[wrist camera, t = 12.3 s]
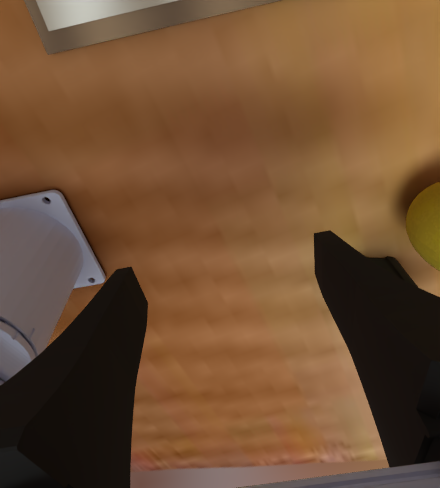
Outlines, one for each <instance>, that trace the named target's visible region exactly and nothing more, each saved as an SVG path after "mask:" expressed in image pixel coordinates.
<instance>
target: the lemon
mask: <svg viewBox="0 0 440 488" xmlns="http://www.w3.org/2000/svg"><path fill="white" fill-rule="evenodd" d="M406 231H407V234H408V236H409V239H410V242H411V244H412V246H413V247H414V248H415V250H416V251H417V252H418V253H419V254H420V256H421V257H422V258H423V259H424V260H425V261H426V262H428V263H429V264H430V265H431V266H433V267H434V268H436V269H437V270H439V271H440V182H437V183H434V184H432V185H431V186H429V187H427V188H426V189H424V190H423V191H422V192H421V193H419V194H418V195H417V197H416V198H415V199H414V200H413V202H412V203H411V205H410V207H409V209H408V213H407V216H406Z"/></svg>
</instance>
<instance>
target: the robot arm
mask: <svg viewBox="0 0 440 488" xmlns="http://www.w3.org/2000/svg"><path fill="white" fill-rule="evenodd" d="M45 197H47V198H49V199H50V201H47V200H46V199H45ZM314 258H315V275H316V278H317V281H318V284H319V287H320V290H321V293H322V296H323V298H324V300H325V302H326V304H327V306H328V308H329V310H330V312H331V314H332V316H333V318H334V320H335V322H336V324H337V326H338V328H339V330H340V332H341V335H342V337H343V339H344V341H345V343H346V345H347V347H348V349H349V351H350V354H351V356H352V359H353V361H354V364H355V367H356V369H357V372H358V375H359V378H360V380H361V383H362V386H363V389H364V392H365V394H366V397H367V400H368V403H369V406H370V409H371V412H372V415H373V417H374V420H375V423H376V426H377V429H378V432H379V435H380V438H381V442H382V445H383V448H384V451H385V454H386V457H387V461H388V463H389V467H390V468H383V469H375V470H368V471H360V472H352V473H345V474H337V475H329V476H322V477H315V478H307V479H299V480H291V481H284V482H276V483H269V484H261V485H254V486H246V487H238V488H440V297H438V296H435V295H433V294H431V293H428V292H426V291H424V290H422V289H420V288H418V287H416V286H414V285H412V284H410V283H408V282H406V281H404V280H402V279H400V278H399V277H397V276H395V275H393V274H392V273H390V272H388V271H387V270H385V269H383V268H382V267H380V266H378V265H377V264H375V263H374V262H372V261H371V260H369V259H368V258H367V257H365V256H364V255H362V254H361V253H359V252H358V251H357V250H355V249H354V248H353V247H351V246H350V245H349V244H347V243H346V242H345V241H343V240H342V239H341V238H339V237H338V236H337V235H336V234H334V233H333V232H331V231H324V232H319V233H314ZM91 278H93V279H95V280H93V279H91ZM105 278H106V276H105V274H104V272H103V270H102V268H101V266H100V264H99V262H98V261H97V259H96V257H95V255H94V253H93V251H92V249H91V247H90V245H89V244H88V242H87V240H86V238H85V236H84V234H83V232H82V230H81V228H80V226H79V225H78V223H77V221H76V219H75V217H74V215H73V213H72V211H71V209H70V208H69V206H68V204H67V202H66V200H65V198H64V196H63V195H62V193H61V192H59V191H57V190H49V191H44V192H39V193H34V194H29V195H24V196H19V197H14V198H10V199H5V200H0V488H130V463H131V437H132V421H133V407H134V396H135V386H136V379H137V374H138V369H139V364H140V358H141V353H142V348H143V343H144V338H145V332H146V326H147V310H148V302H147V300H146V298H145V296H144V293H143V291H142V289H141V287H140V285H139V282H138V280H137V278H136V276H135V274H134V271H133V269H132V267H127V268H122V269H117V270H116V271H115V272H114V273H113V274H112V275H111V277H110V278H109V279H108V280H107V282H106V283H105V284H104V285H103V287H102V288H101V289H100V290H99V292H98V293H97V294H96V295H95V296H94V298H93V299H92V300H91V301H90V302H89V304H88V305H87V306H86V307H85V308H84V310H83V311H82V312H81V313H80V314H79V315H78V316H77V317H76V318H75V320H74V321H73V322H72V323H71V324H70V325H69V326H68V327H67V328H66V329H65V331H64V332H63V333H62V334H61V335H60V336H59V337H58V338H57V339H55V340H54V341H53V342H52V343H51V344H50V345H49V346H48V347H47V344H48V342H49V340H50V338H51V336H52V333H53V331H54V329H55V327H56V325H57V323H58V320H59V318H60V316H61V314H62V312H63V309H64V307H65V305H66V303H67V301H68V299H69V296H70V294H71V292H72V290H73V289H74V288H79V287H85V286H90V285H96V284H101V283H103V282H104V281H105ZM46 347H47V348H46Z"/></svg>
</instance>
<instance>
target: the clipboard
mask: <svg viewBox="0 0 440 488" xmlns="http://www.w3.org/2000/svg"><path fill="white" fill-rule="evenodd" d="M24 1H25V4H26V6H27V8H28V11H29V13H30V15H31V17H32V20H33V22H34V24H35V27H36V29H37V31H38V33H39V36H40V38H41V40H42V43H43V45H44V47H45V50H46V52H47V54H48V55H49V54H53V53H58V52H62V51H66V50H70V49H75V48H79V47H83V46H88V45H92V44H96V43H100V42H105V41H109V40H113V39H118V38H122V37H126V36H130V35H135V34H139V33H143V32H148V31H152V30H156V29H160V28H165V27H169V26H173V25H177V24H182V23H186V22H190V21H195V20H199V19H203V18H207V17H212V16H216V15H220V14H225V13H229V12H233V11H237V10H242V9H246V8H250V7H255V6H259V5H263V4H267V3H272V2H276V1H280V0H24Z"/></svg>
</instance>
